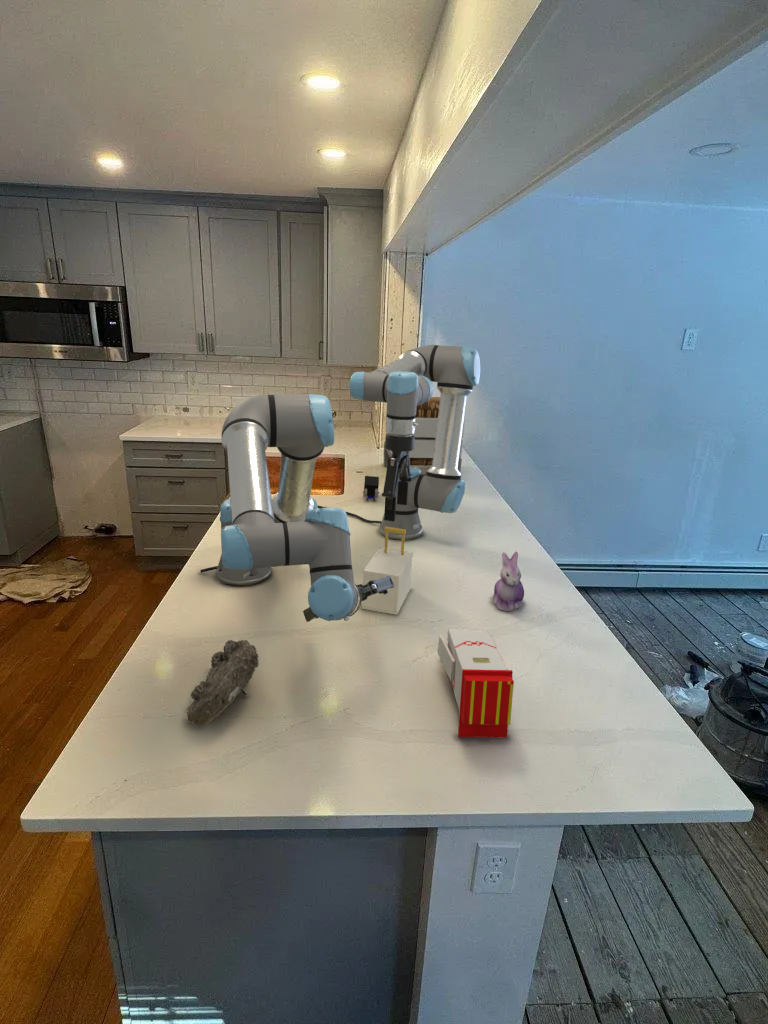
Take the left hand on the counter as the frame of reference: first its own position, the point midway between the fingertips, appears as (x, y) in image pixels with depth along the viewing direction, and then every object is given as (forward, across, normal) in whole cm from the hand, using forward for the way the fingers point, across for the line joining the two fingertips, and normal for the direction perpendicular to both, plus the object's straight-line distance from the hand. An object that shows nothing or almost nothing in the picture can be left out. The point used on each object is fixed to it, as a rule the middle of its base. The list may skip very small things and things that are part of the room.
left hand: (352, 598), depth 129 cm
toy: (-6, +17, -27) cm, 33 cm away
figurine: (+29, +36, -16) cm, 49 cm away
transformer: (+139, +39, +50) cm, 153 cm away
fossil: (-13, -29, -9) cm, 33 cm away
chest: (+26, +6, -2) cm, 27 cm away
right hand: (+20, +17, +18) cm, 32 cm away
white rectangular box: (+22, +10, +6) cm, 25 cm away
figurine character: (+102, +12, +40) cm, 111 cm away
